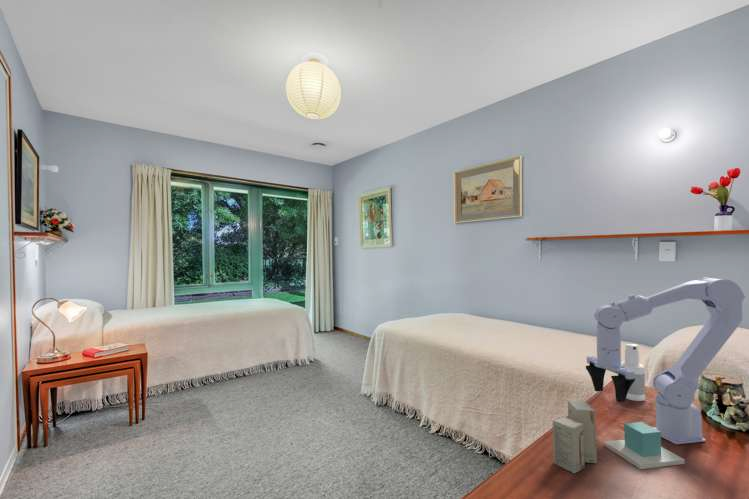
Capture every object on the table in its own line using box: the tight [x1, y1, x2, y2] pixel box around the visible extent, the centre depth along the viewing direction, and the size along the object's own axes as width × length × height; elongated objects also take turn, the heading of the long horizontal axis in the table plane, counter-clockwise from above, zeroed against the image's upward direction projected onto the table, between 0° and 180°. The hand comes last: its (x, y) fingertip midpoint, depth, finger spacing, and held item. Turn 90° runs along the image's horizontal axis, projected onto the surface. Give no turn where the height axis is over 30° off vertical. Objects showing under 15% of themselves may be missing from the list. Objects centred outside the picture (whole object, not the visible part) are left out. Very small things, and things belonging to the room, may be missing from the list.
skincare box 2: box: [567, 399, 598, 464], centre depth 85 cm, size 6×4×12 cm
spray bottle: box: [621, 343, 646, 402], centre depth 120 cm, size 7×7×18 cm
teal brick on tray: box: [623, 421, 662, 457], centre depth 86 cm, size 5×5×6 cm
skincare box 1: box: [552, 416, 586, 474], centre depth 81 cm, size 5×4×10 cm
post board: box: [604, 439, 686, 470], centre depth 86 cm, size 12×10×4 cm
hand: (609, 396), depth 100 cm, fingers open, 7 cm apart
